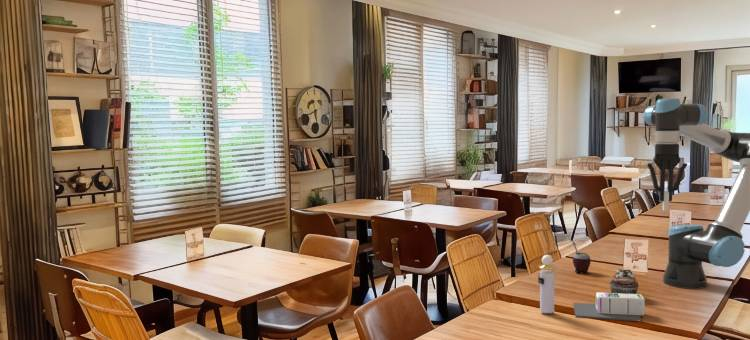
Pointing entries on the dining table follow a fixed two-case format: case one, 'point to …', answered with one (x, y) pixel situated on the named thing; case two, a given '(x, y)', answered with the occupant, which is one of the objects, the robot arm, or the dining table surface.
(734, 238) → the robot arm
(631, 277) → the cupcake
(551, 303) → the perfume bottle
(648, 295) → the dining table surface
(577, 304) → the topple mat
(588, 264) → the mate gourd
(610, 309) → the syrup box
